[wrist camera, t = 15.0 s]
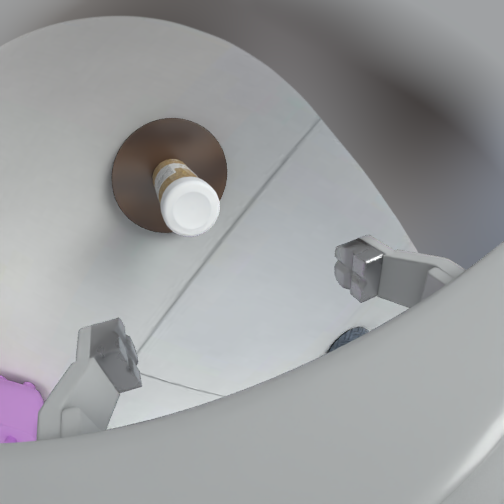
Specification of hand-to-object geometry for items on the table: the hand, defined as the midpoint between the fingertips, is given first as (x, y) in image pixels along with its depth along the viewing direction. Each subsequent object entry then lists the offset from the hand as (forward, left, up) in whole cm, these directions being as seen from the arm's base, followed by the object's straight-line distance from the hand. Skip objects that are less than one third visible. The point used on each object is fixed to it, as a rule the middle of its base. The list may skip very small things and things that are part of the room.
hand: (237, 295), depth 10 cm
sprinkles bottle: (+1, +1, -27) cm, 27 cm away
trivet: (+1, +1, -28) cm, 28 cm away
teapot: (+29, -40, -28) cm, 57 cm away
